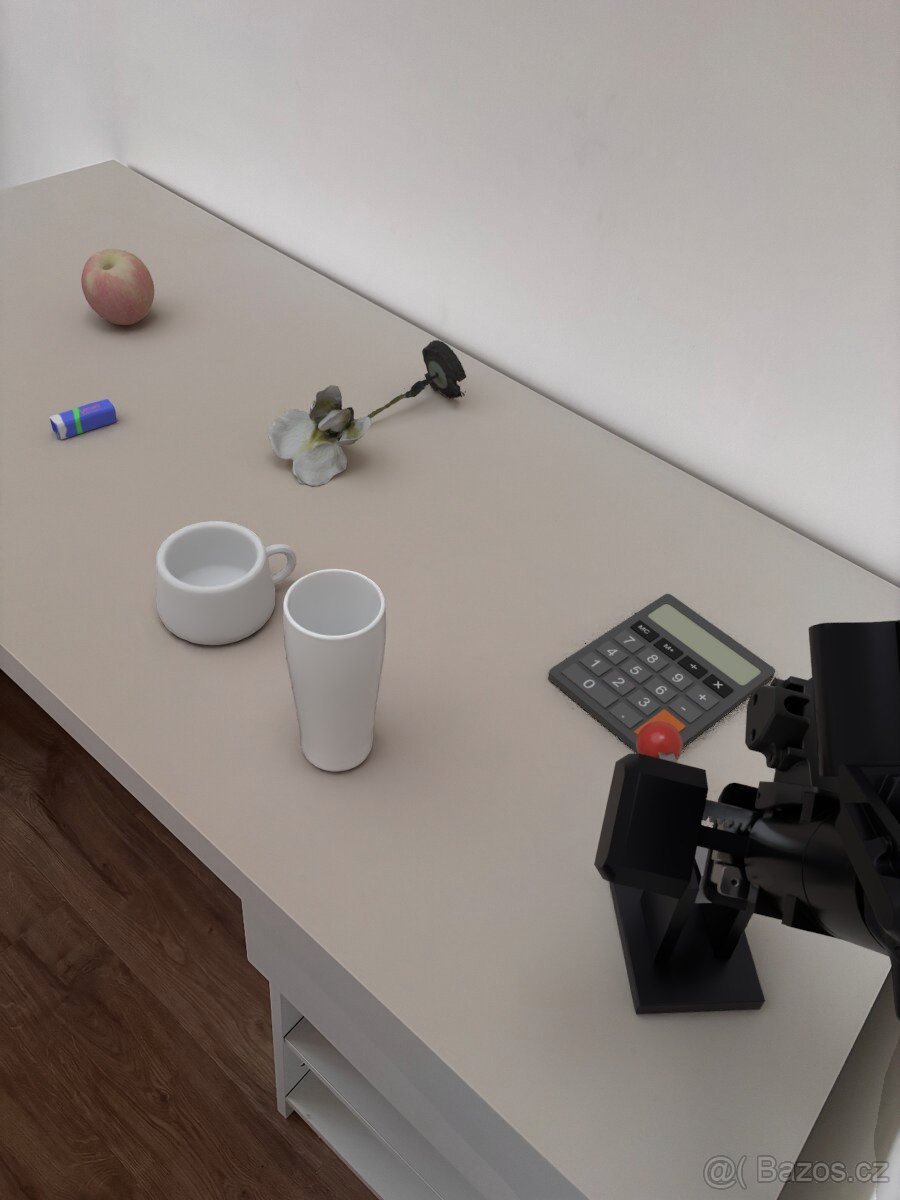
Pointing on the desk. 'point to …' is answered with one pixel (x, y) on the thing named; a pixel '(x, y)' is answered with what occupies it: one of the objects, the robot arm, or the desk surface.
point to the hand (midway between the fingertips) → (732, 845)
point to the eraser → (83, 419)
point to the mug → (217, 582)
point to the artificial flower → (349, 420)
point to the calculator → (661, 673)
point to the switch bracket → (685, 952)
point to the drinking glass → (335, 663)
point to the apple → (118, 286)
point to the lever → (668, 746)
